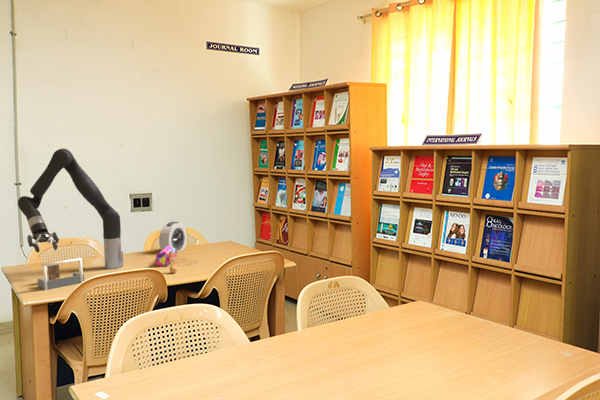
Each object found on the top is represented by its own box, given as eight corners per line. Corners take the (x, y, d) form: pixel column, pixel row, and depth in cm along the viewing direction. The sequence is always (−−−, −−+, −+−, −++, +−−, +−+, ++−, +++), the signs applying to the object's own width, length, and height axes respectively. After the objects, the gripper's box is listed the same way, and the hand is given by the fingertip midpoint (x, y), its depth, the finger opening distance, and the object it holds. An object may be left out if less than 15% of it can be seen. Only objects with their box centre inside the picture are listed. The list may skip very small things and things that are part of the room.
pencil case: (171, 266, 287) (171, 251, 286) (155, 267, 286) (154, 252, 285) (177, 259, 308) (177, 244, 307) (162, 259, 307) (161, 245, 306)
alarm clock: (169, 254, 322) (168, 224, 320) (159, 253, 325) (158, 223, 323) (187, 248, 342) (186, 220, 340) (178, 247, 344) (177, 219, 343)
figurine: (167, 274, 267) (166, 252, 266) (163, 272, 271) (162, 251, 270) (182, 272, 272) (181, 250, 271) (177, 270, 277) (176, 249, 276)
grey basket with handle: (76, 279, 259) (75, 255, 258) (84, 282, 253) (83, 257, 252) (36, 286, 245) (35, 261, 244) (43, 290, 239) (42, 264, 237)
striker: (56, 280, 257) (55, 261, 256) (59, 282, 254) (58, 262, 253) (48, 282, 254) (47, 263, 253) (51, 283, 251) (50, 264, 250)
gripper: (24, 223, 257) (34, 247, 251) (53, 220, 268) (63, 243, 261) (21, 232, 261) (31, 256, 255) (50, 229, 272) (59, 252, 265)
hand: (47, 250), depth 258 cm, fingers open, 8 cm apart
